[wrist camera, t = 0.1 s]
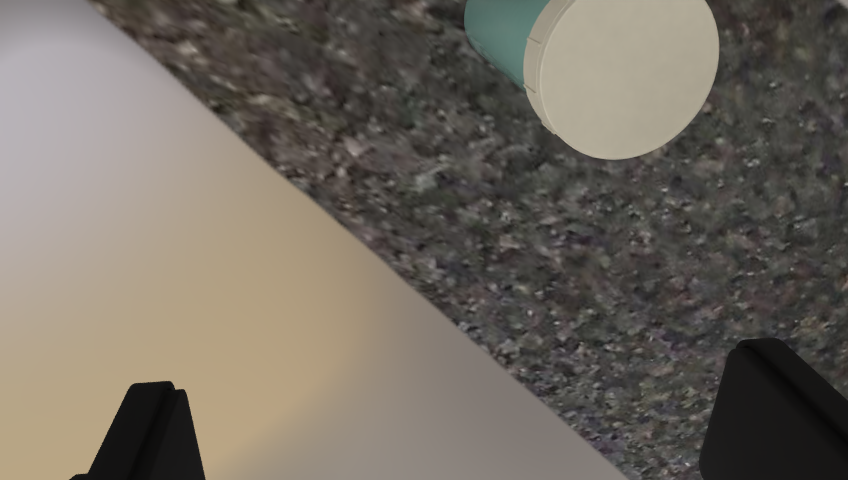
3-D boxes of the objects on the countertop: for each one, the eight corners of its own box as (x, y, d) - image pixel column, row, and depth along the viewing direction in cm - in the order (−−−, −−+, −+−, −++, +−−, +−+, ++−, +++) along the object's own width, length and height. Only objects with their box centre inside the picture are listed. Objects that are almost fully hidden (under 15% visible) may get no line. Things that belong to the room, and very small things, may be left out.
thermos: (465, -34, 37) (555, -16, 21) (558, -35, 38) (714, -17, 22) (462, 64, 40) (540, 146, 24) (549, 63, 41) (682, 141, 25)
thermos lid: (530, -33, 23) (549, -30, 21) (703, -33, 23) (738, -31, 21) (516, 144, 26) (532, 163, 24) (670, 139, 27) (698, 156, 24)
